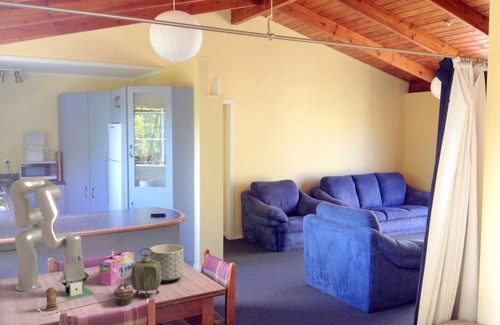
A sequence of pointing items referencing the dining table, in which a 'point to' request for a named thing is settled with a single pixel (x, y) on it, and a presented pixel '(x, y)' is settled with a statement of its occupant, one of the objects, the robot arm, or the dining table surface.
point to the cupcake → (123, 295)
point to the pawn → (51, 299)
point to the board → (77, 307)
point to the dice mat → (84, 293)
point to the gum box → (116, 268)
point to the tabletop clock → (146, 274)
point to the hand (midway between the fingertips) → (74, 292)
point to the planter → (169, 260)
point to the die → (75, 287)
